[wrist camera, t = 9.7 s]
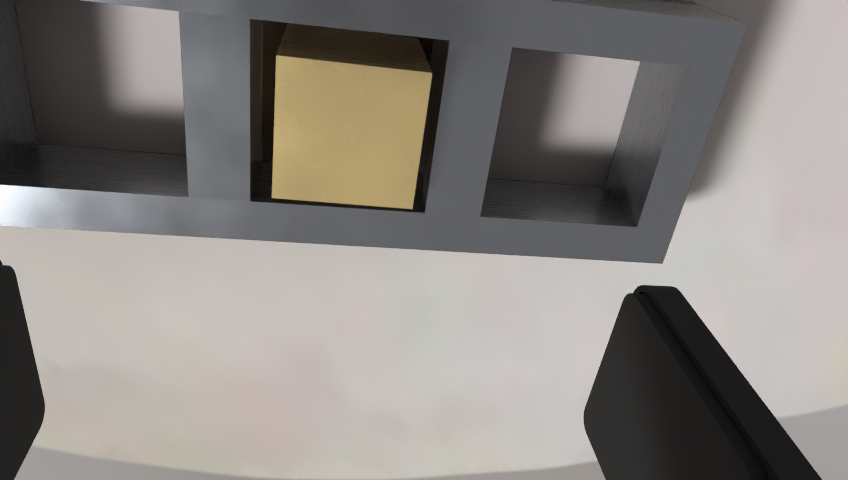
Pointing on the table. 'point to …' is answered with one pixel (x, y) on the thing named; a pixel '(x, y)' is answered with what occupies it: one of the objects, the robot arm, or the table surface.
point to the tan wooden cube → (348, 116)
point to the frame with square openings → (442, 140)
